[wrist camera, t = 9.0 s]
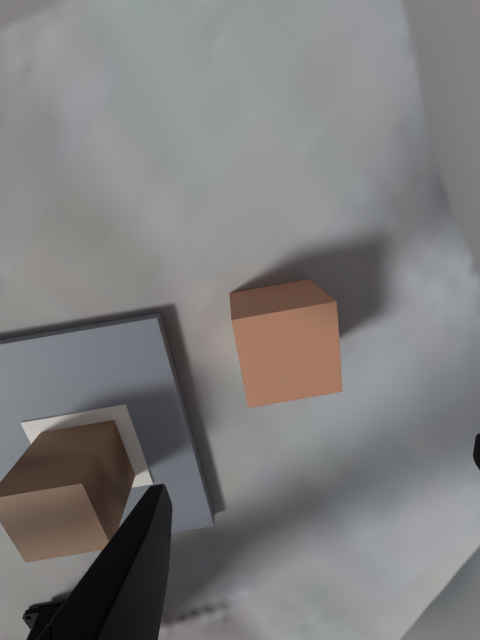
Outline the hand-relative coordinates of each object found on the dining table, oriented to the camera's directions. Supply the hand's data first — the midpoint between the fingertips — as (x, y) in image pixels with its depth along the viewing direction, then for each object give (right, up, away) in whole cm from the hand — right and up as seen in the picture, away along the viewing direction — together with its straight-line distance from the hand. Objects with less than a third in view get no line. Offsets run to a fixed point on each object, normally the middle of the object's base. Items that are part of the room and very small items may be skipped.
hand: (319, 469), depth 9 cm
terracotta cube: (0, +4, +11) cm, 12 cm away
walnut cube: (-13, -5, +12) cm, 18 cm away
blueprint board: (-13, -5, +14) cm, 19 cm away
